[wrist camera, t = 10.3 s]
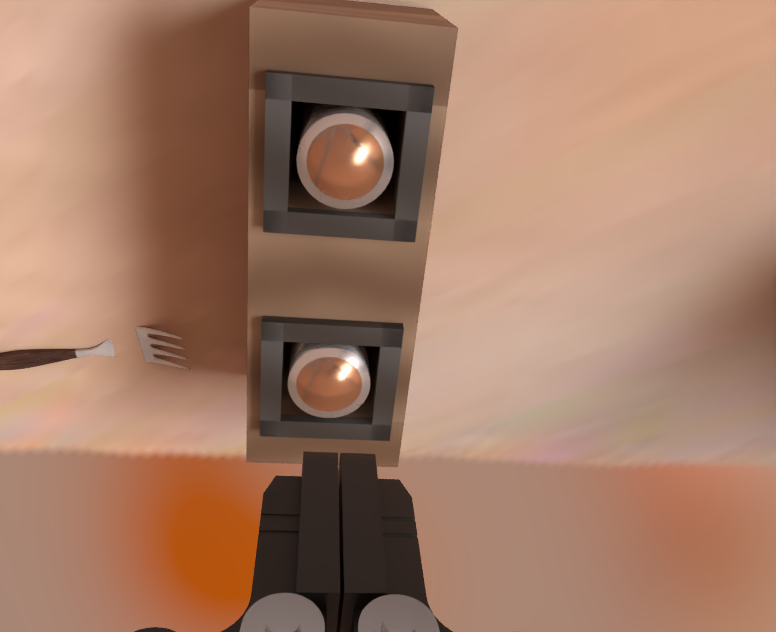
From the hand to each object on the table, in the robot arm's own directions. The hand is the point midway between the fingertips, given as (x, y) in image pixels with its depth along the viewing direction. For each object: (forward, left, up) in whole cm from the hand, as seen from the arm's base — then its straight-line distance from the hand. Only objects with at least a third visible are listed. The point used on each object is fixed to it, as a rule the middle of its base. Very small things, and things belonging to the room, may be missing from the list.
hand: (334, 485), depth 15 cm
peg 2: (+9, 0, -26) cm, 27 cm away
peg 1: (-2, 0, -26) cm, 26 cm away
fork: (+14, -16, -26) cm, 34 cm away
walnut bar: (+4, 0, -26) cm, 26 cm away
